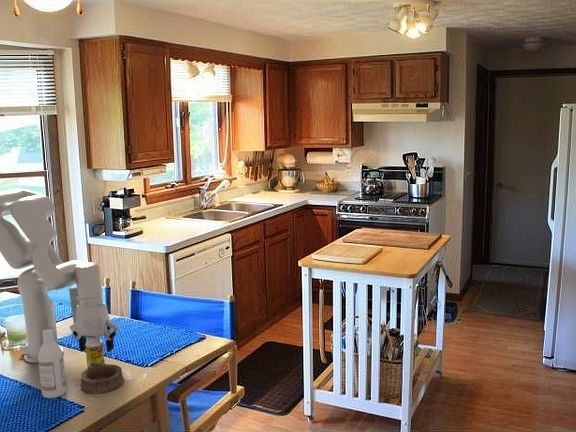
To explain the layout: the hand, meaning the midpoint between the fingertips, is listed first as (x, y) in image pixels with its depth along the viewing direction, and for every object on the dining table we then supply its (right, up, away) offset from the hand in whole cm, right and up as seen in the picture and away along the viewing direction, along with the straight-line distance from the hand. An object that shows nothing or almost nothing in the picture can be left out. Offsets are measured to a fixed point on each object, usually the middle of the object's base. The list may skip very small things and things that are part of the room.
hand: (97, 350), depth 192 cm
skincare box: (-18, +2, +40) cm, 44 cm away
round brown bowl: (+6, -8, -12) cm, 15 cm away
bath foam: (-7, -9, -17) cm, 21 cm away
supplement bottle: (-1, -6, +1) cm, 6 cm away
